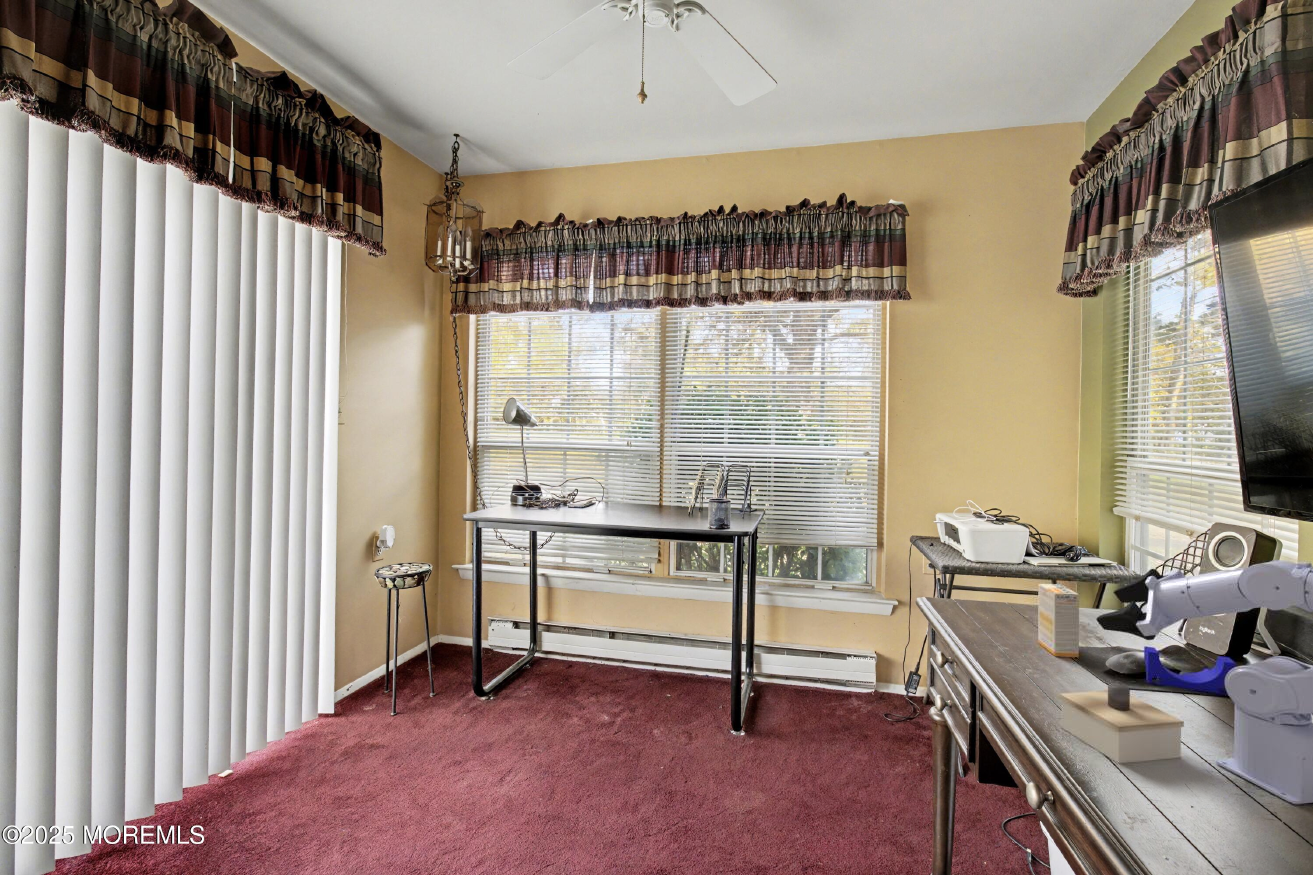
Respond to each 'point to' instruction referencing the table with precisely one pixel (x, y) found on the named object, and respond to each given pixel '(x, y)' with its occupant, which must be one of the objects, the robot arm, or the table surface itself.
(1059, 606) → the supplement box
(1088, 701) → the oak lid
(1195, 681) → the blue concave arch block
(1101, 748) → the cream box
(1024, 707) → the table surface
